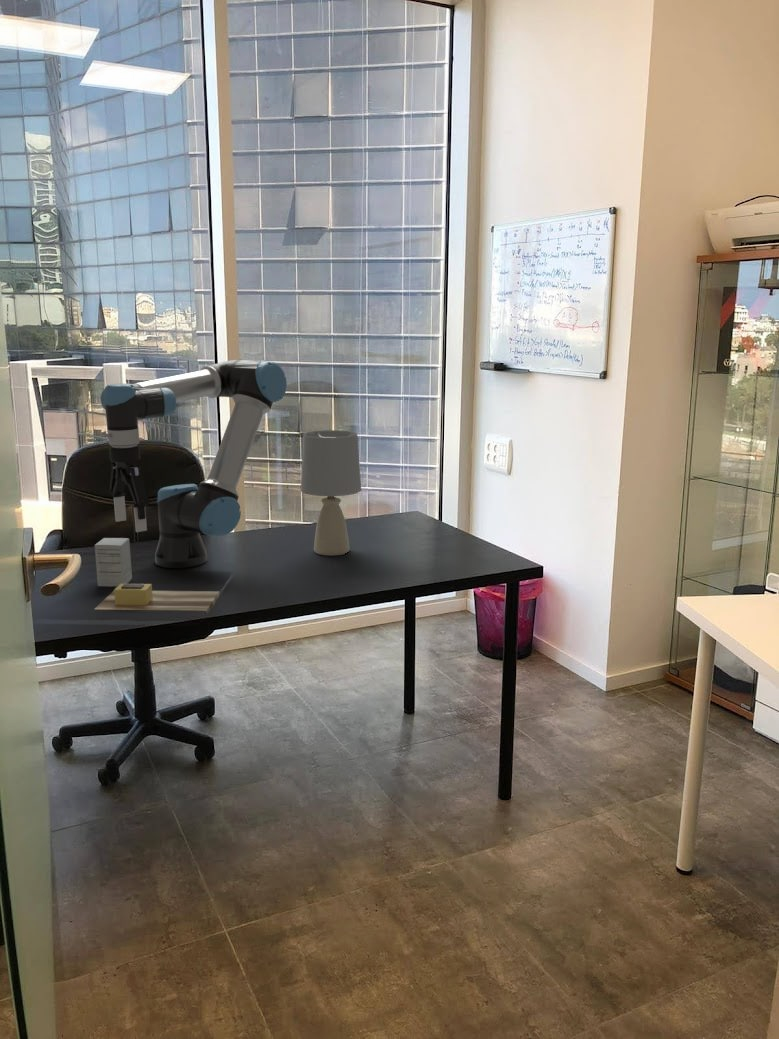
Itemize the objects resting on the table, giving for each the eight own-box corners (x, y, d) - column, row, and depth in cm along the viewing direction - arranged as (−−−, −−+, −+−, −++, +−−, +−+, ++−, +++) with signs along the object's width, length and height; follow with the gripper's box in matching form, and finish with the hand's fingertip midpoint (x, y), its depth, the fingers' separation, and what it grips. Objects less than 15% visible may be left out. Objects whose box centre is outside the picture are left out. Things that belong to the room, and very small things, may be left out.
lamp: (372, 553, 268) (372, 435, 259) (320, 562, 258) (318, 440, 249) (341, 540, 283) (340, 428, 274) (291, 548, 273) (288, 432, 264)
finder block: (121, 598, 222) (120, 582, 221) (152, 598, 222) (151, 582, 221) (115, 604, 217) (114, 588, 216) (146, 605, 217) (145, 588, 216)
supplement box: (106, 581, 239) (103, 537, 236) (133, 581, 239) (130, 537, 236) (97, 589, 232) (93, 544, 229) (124, 590, 232) (121, 544, 229)
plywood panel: (114, 593, 228) (114, 590, 228) (219, 595, 228) (219, 591, 228) (94, 613, 214) (94, 609, 214) (206, 614, 213) (206, 610, 213)
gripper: (92, 440, 227) (99, 518, 233) (129, 453, 208) (136, 538, 214) (119, 437, 232) (126, 514, 237) (158, 450, 213) (164, 533, 218)
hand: (130, 525), depth 225 cm, fingers open, 13 cm apart
